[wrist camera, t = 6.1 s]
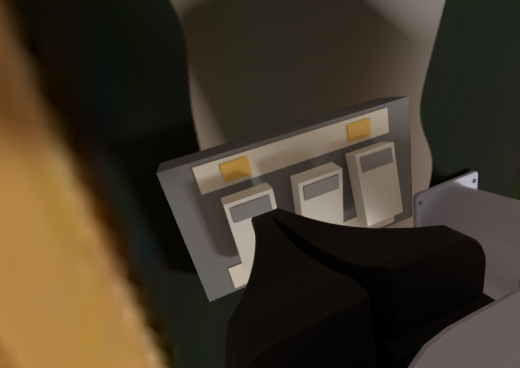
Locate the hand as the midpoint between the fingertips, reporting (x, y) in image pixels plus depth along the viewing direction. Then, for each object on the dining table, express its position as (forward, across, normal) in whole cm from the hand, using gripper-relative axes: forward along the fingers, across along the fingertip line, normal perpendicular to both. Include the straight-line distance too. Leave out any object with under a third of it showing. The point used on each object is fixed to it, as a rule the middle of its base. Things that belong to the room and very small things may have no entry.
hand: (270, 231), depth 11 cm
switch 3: (+4, -9, +2) cm, 10 cm away
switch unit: (+8, -4, +2) cm, 10 cm away
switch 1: (+4, 0, +2) cm, 5 cm away
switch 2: (+4, -4, +2) cm, 7 cm away
